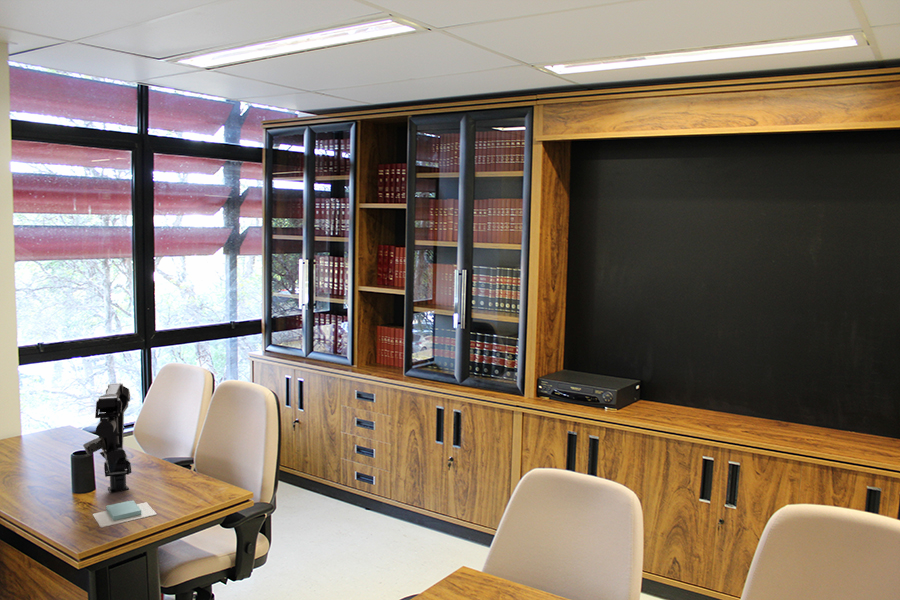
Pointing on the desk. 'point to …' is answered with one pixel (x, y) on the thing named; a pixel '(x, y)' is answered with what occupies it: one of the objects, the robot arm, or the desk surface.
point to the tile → (123, 510)
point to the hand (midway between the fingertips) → (111, 471)
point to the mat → (106, 519)
